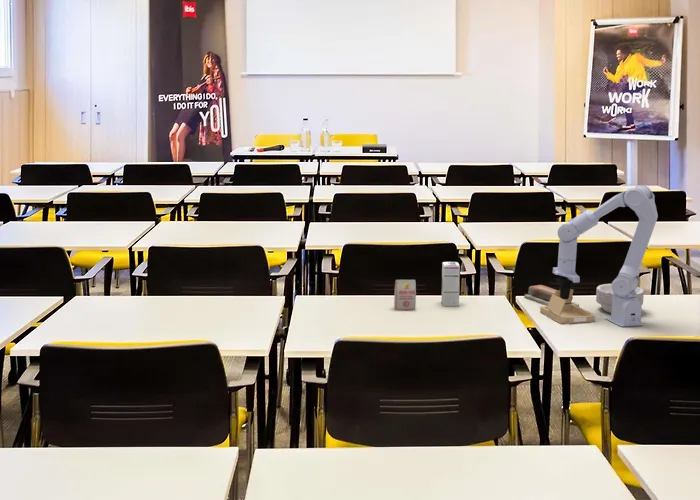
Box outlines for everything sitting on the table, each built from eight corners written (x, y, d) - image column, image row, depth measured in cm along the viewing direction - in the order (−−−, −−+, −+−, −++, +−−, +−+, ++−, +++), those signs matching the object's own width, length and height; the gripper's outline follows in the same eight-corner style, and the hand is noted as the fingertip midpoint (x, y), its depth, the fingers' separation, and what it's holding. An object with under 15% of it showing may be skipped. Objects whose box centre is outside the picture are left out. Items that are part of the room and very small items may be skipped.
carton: (596, 322, 272) (597, 316, 272) (561, 324, 269) (561, 318, 269) (573, 310, 286) (574, 304, 286) (540, 312, 283) (540, 306, 283)
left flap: (560, 315, 270) (566, 300, 269) (559, 315, 270) (565, 300, 269) (547, 308, 278) (553, 294, 277) (546, 308, 278) (552, 293, 277)
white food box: (394, 307, 288) (394, 278, 286) (413, 307, 288) (414, 278, 286) (395, 310, 284) (396, 281, 282) (415, 310, 284) (416, 281, 282)
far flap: (570, 302, 285) (573, 289, 283) (552, 303, 284) (555, 290, 281) (569, 302, 286) (572, 289, 283) (552, 303, 284) (555, 290, 282)
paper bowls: (590, 313, 283) (592, 290, 281) (600, 303, 296) (602, 281, 295) (637, 319, 276) (639, 296, 274) (645, 309, 289) (647, 286, 288)
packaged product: (523, 285, 302) (545, 282, 306) (522, 298, 303) (544, 295, 307) (557, 297, 286) (580, 294, 291) (556, 311, 287) (579, 307, 291)
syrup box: (459, 306, 289) (460, 265, 286) (442, 306, 289) (443, 264, 286) (457, 302, 295) (459, 261, 292) (440, 302, 295) (441, 261, 292)
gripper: (545, 254, 286) (543, 293, 289) (566, 264, 272) (564, 305, 275) (564, 254, 288) (561, 292, 290) (586, 263, 274) (583, 303, 277)
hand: (564, 298), depth 283 cm, fingers closed, pressing on far flap
